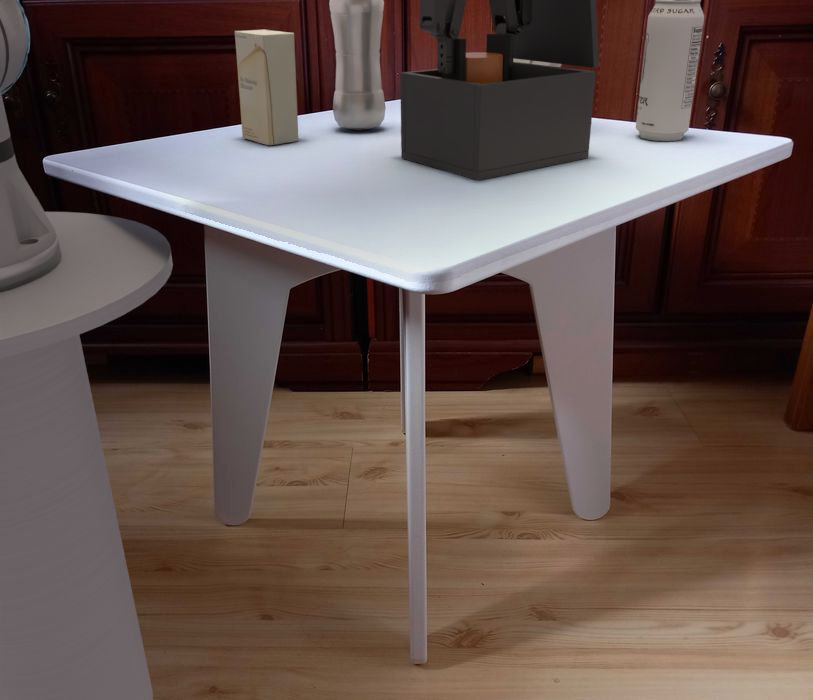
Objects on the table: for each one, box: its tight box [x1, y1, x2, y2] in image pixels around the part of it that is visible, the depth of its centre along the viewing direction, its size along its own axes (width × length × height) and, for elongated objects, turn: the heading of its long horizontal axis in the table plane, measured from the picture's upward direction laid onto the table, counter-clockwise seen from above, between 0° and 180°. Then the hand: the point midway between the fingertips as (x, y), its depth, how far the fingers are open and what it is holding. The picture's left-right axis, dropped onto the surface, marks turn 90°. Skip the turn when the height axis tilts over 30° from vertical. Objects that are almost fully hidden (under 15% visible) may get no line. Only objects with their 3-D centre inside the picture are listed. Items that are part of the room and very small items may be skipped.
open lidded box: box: [399, 62, 597, 181], centre depth 84 cm, size 16×13×9 cm
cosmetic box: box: [234, 29, 299, 146], centre depth 94 cm, size 6×4×12 cm
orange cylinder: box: [465, 51, 503, 84], centre depth 81 cm, size 5×5×5 cm
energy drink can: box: [635, 0, 705, 142], centre depth 92 cm, size 6×6×15 cm
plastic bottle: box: [328, 0, 387, 131], centre depth 98 cm, size 6×7×20 cm
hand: (475, 103), depth 82 cm, fingers closed on orange cylinder, 5 cm apart
